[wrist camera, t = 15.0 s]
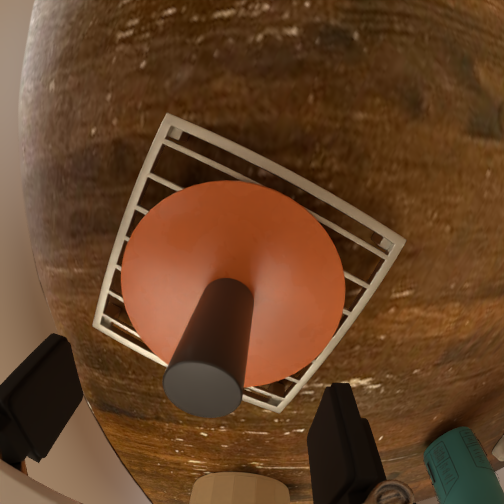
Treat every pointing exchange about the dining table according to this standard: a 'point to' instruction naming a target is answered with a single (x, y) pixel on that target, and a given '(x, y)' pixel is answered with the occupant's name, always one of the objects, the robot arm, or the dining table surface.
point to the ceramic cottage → (499, 450)
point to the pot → (238, 489)
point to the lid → (231, 291)
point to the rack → (184, 128)
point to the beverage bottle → (462, 470)
